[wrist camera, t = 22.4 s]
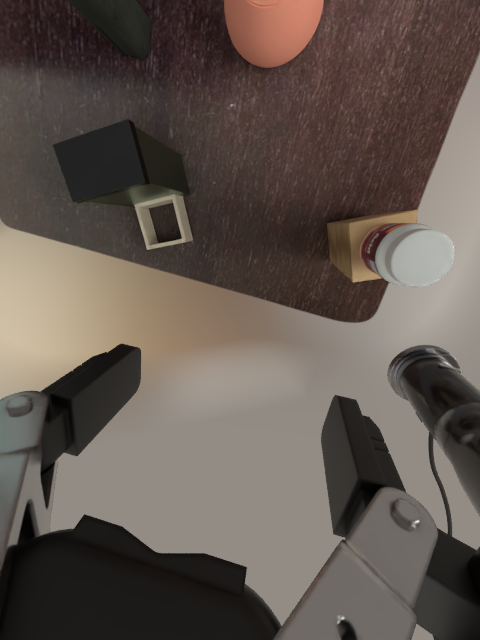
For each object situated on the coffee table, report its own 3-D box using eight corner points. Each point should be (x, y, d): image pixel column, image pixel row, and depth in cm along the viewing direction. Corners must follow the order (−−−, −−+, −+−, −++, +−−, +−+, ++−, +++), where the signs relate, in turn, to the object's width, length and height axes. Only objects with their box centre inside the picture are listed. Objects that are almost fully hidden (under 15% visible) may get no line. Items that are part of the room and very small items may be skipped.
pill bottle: (389, 212, 25) (432, 206, 17) (421, 248, 25) (478, 258, 18) (347, 249, 27) (370, 259, 19) (379, 282, 27) (413, 305, 19)
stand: (368, 254, 43) (416, 273, 26) (330, 260, 44) (352, 282, 28) (367, 215, 41) (417, 209, 25) (326, 223, 43) (349, 222, 26)
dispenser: (191, 195, 45) (145, 182, 31) (137, 208, 47) (72, 202, 33) (181, 153, 43) (128, 118, 29) (126, 169, 45) (52, 144, 31)
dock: (193, 240, 47) (186, 241, 44) (156, 248, 49) (147, 249, 46) (182, 196, 45) (174, 194, 42) (144, 205, 47) (133, 204, 44)
